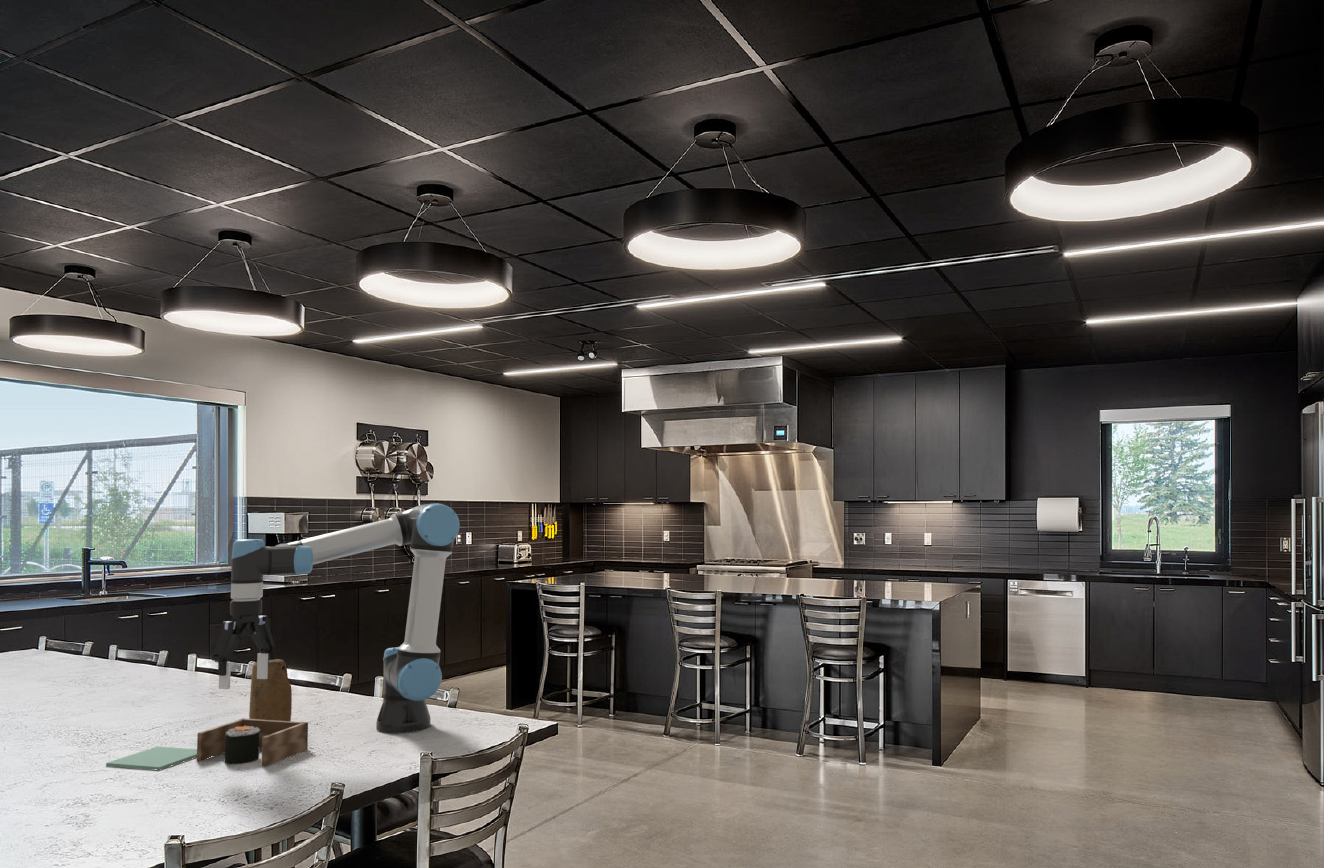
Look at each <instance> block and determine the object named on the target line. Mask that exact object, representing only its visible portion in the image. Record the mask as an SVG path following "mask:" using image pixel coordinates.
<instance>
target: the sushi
mask: <svg viewBox="0 0 1324 868" xmlns="http://www.w3.org/2000/svg"><path fill="white" fill-rule="evenodd" d="M259 731H260V729H259V728H258V727H256V728H254V727H253V726H250V727H249V726H245V725H244V727H235V728H234V729H229V730H228V732H226V733H225V753H224V763H225V764H226V763H227V764H226V765H238V764H246V763H252V762H255V761H257V760H259V757H260V755H259V754H260V748H259Z"/></svg>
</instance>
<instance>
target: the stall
mask: <svg viewBox="0 0 1324 868" xmlns="http://www.w3.org/2000/svg"><path fill="white" fill-rule="evenodd" d="M244 725H245V726H249V727H250V726H253V727H254V728H256V727H258V728H259V729H260V731H259V747H260V748H259V749H261V767H268V766H270V765H273V764H275V763H276V764H277V763H279V762H280V761H283V760H286V759H288V758H290V757H289V756H291V757H292V756H294V755H297V753H298V754H300V753H303V752H305V751H308V744H309V742H308V740H309V739H308V738H309V722H305V721H276V720H260V719H249V718H240V719H237V720H234V721H229V722H227V723H225V724H221V725H218V726H215V727H212V728H208V729H206V730H201V731H199V732H197V737H196V738H197V740H196V742H197V743H196V749H197V757H196V762H199V761H201V762H204V761H206V760H208V759H207V758H209V757H211V756H215V757H217V756H220V755H222V754H221V753H223V752H225V733H226V732H228V730H229V729H234V728H235V727H244ZM299 752H300V753H299ZM219 754H220V755H219ZM223 754H224V753H223ZM216 755H217V756H216ZM287 757H288V758H287ZM285 758H286V759H285ZM205 759H206V760H205ZM209 759H210V758H209ZM203 760H204V761H203Z"/></svg>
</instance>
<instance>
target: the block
mask: <svg viewBox="0 0 1324 868" xmlns="http://www.w3.org/2000/svg"><path fill="white" fill-rule="evenodd" d="M250 679H251V680H250V692H249V693H250V697H249V713H248V714H249V715H248V717H249V718H248V719H260V720H276V721H291V720H292V707H293V706H292V705H293V704H292V703H293V702H292V701H293V698H292V697H293V695H292V689H293V688H292V685H291V682H290V681H289V677H288V670H287V664H286V661H285V660H283V659H279V658H277V659H269V664H268V678H267V679H257V661H255V662H254V663H253V664H252V670H251V678H250Z"/></svg>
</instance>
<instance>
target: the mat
mask: <svg viewBox="0 0 1324 868" xmlns="http://www.w3.org/2000/svg"><path fill="white" fill-rule="evenodd" d="M194 757H196V758H197V748H196V749H195V748H186V747H185V748H183V747H182V748H181V747H168V746H154V747H151V748H149V749H145V750H142V751H139V752H136V753H133V754H130V755H129V754H128V755H126V756H123V757H120V758H117V759H114V760H110V761H108V762H105V766H106V767H109V766H113V768H121V767H124V768H123V769H135V770H146V769H157V770H156V771H158V770H159V771H161V770H160V769H162V770H164V768H165V769H167V768H166V767H168V768H170V767H169V766H171V765H174V766H176V765H179V764H182V763H184V762H183V761H185V762H186V761H187V762H188V761H191V760H192V758H193V759H195V758H194ZM181 762H182V763H181ZM178 763H179V764H178ZM171 767H172V766H171Z"/></svg>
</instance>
